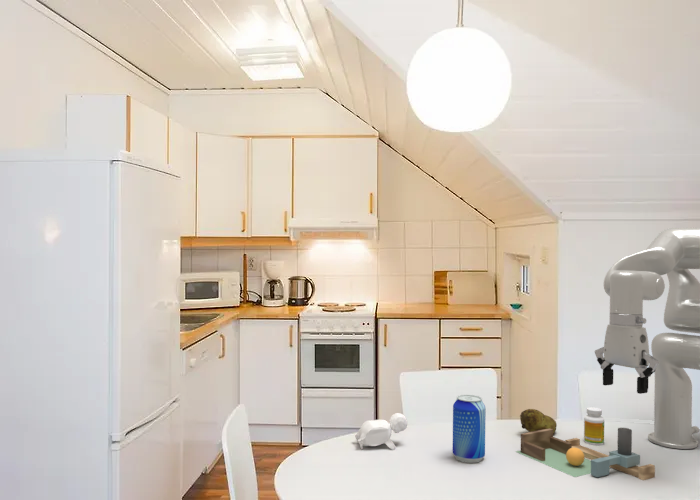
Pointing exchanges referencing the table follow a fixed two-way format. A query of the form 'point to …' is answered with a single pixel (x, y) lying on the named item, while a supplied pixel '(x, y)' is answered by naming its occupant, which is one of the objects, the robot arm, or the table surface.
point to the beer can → (469, 428)
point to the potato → (536, 421)
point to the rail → (639, 472)
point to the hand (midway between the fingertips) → (624, 388)
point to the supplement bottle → (594, 427)
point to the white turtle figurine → (380, 431)
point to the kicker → (617, 455)
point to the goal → (542, 443)
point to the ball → (575, 456)
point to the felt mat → (563, 463)
